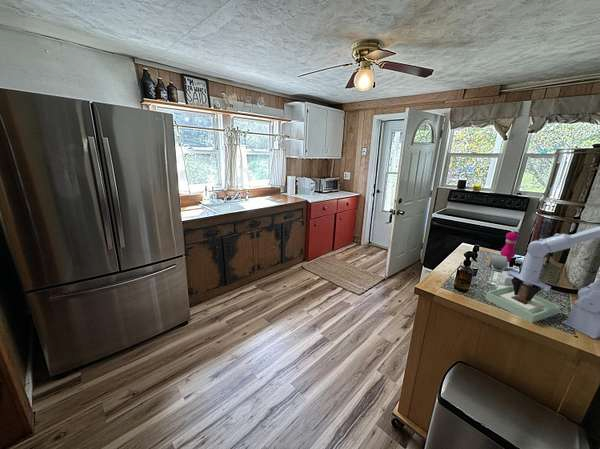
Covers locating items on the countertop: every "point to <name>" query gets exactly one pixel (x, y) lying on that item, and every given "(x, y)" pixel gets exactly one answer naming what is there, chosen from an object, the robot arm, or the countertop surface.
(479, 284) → the countertop surface
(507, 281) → the charger
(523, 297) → the peg
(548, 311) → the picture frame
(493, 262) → the ceramic mug
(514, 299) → the bore plate
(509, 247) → the pepper mill
